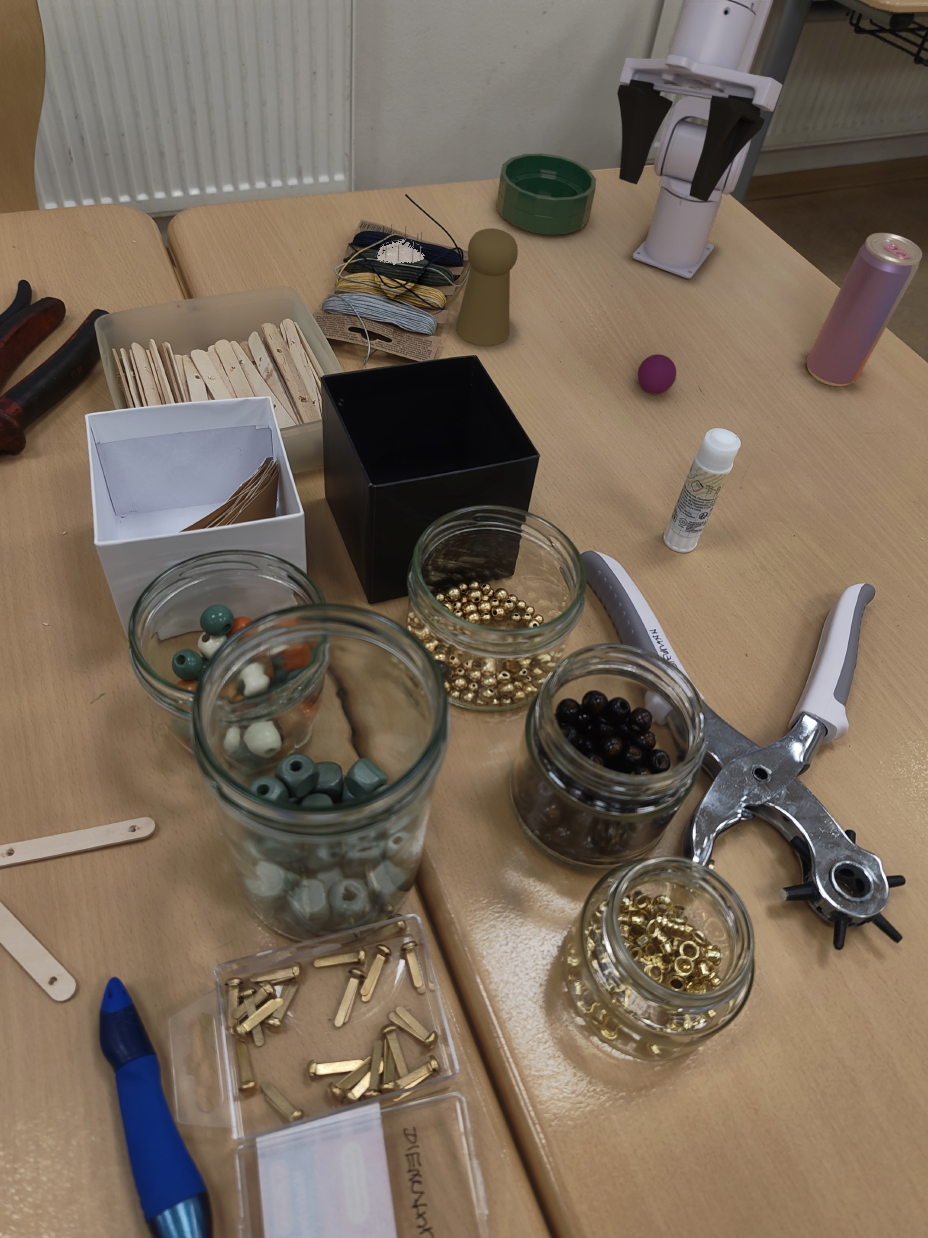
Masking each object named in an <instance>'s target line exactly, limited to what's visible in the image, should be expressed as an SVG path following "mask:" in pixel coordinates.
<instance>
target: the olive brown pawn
mask: <svg viewBox="0 0 928 1238" xmlns="http://www.w3.org/2000/svg"><path fill="white" fill-rule="evenodd" d="M468 242H469V243H468V245H467V259H468V261H469V263H470V269H469V272H468V277H467V281H466V284H465V288H464V293H463V297H462V300H461V304H460V309H459V311H458V316H457V320H456V323H455V324H456V325H455V330H456V332H457V335H458V336H459V337H460V338H461V339H462V340H464V341H466V342H467V343H469V344H472V345H475V346H480V347H481V346H483V347H490V346H491V347H493V346H497V345H499V344H503V343H504V342H506V340H508V338H509V336H510V296H511V295H510V290H511V289H510V288H511V286H510V285H511V270H512V269H513V267H514V266H515V265H516V262H517V260H518V256H519V255H518V254H519V251H518V244H517V241H516V239H515V238H514V237H513V235H511V234H510V233H508V232H507V231H505V230H503V229H499V228H492V227H491V228H484V229H480V230H478V231H476V232H475V233H474V234H473V236H471V238H470V239H469V241H468Z"/></svg>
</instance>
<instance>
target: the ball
mask: <svg viewBox="0 0 928 1238" xmlns="http://www.w3.org/2000/svg"><path fill="white" fill-rule="evenodd" d="M637 370H638V371H637V381H638V383H639V386H640V387H641V388H642V390H644V391H645V392H647V393H650V394H656V395H657V394H663V393H664V392H667V391H668V390H669V389H671V387H672V386H673V385H674V383H675V381H676V378H677V368H676V365H675V363H674V360H672V359H671V358H670V357H668V356H667V355H664V354H661V353H660V354H659V353H658V354H652V355H650V356H648V357H646V358H644V360H643V361H642V362H641V363H640V365H639V367H638V369H637Z"/></svg>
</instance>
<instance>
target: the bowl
mask: <svg viewBox="0 0 928 1238" xmlns="http://www.w3.org/2000/svg"><path fill="white" fill-rule="evenodd" d="M596 188H597V178H596V177H595V175H594V174H593V173H592V172H591V170H590V169H589V168H588V167H586V166H584V165H583V164H581V163H580V162H578V161H576V160H572V159H570V158H567V157H564V156H561V155H555V154H549V153H541V152H540V153H539V152H538V153H523V154H520V155H516V156H513V157H510V158H509V159H507V160H506V161H505V162H504V163H502V165H501V169H500V176H499V183H498V191H497V200H496V206H495V208H496V210H497V211H498V212H499V215H500V216H501V218H502V219H504V220H506V221H507V222H508V223H510V224H511V225H513V226H514V227H516V228H519V229H522V230H525V231H527V232H530V233H534V234H541V235H547V236H553V235H567V234H571V233H574V232H577V231H579V230H582V229H583V228H584V227H585V226H586V225H587V224H588V223H589V221H590V215H591V211H592V206H593V203H594V198H595V193H596Z"/></svg>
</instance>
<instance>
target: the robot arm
mask: <svg viewBox="0 0 928 1238" xmlns="http://www.w3.org/2000/svg"><path fill="white" fill-rule="evenodd" d="M773 3H774V0H686V1H685V4H684V7H683V10H682V13H681V17H680V20H679V24H678V26H677V30H676V33H675V36H674V39H673V43H672V46H671V49H670V52H669V54H667V57H666V58H634V57H625V59H624V64H623V67H622V70H621V74H620V77H619V81H618V82H619V83H620V84H619V86H618V88H617V98H618V105H619V111H620V120H621V121H620V122H621V152H620V153H621V154H620V165H619V174H618V176H619V177H618V179H619V180H621V181H624V182H627V183H630V184H633V185H638V183H639V181H640V179H641V177H642V174H643V172H644V169H645V166H646V164H647V160H648V158H649V153H650V151H651V148H652V145H653V142H654V140H655V138H656V136H657V133H658V132H659V130H660V127H661V126H662V124H663V122H664V120H665V118H666V117H667V115H668V113H669V112H670V110H671V112H670V115H669V117H668V121H667V122H666V125H665V127H664V129H663V132H662V134H661V137H660V141H659V142H658V143H659V144H658V147H657V150H656V154H655V157H654V163H653V170H654V173H655V176H657V177H660V179H659V184H658V186H659V187H660V188H659V192H658V196H657V200H656V203H655V208H654V210H653V214H652V217H651V221H650V226H649V229H648V232H647V236H646V239H645V240H644V241H642V243H641V244H640V245H639V246H638V248H637V249H636V250H635V251H634V252H633V253H632V256H631V257H632V259H634V260H636V261H639V262H642V263H644V264H647V265H649V266H651V267H655V268H658V269H661V270H663V271H667V272H669V273H671V274H674V275H677V276H679V277H682V278H685V279H692V278H693V277H694V275H695V274H696V273H697V272H698V270H699V269H700V268H701V266H702V265H703V263H704V262H705V261H706V259H707V258H708V257H709V255H711V253H712V252H713V250H714V247H715V246H714V244H713V243H711V242H709V239H710V236H711V233H712V230H713V227H714V224H715V222H716V218H717V215H718V212H719V209H720V207H721V203H722V198H723V195H725V196H728V195H730V194H731V193H732V192H734V191H735V189H736V187H737V184H738V181H739V179H740V175H741V173H742V170H743V167H744V165H745V162H746V159H747V155H748V153H749V150H750V146H751V141H752V138H754V137H755V135H757V134H758V133H759V132H760V131H761V130H762V128H763V126H764V124H765V121H766V120H765V118H764V117H762V116H761V115H762V112H761V110H762V111H767V112H771V113H772V112H774V110H775V107H776V105H777V102H778V100H779V96H780V94H781V91H782V88H783V84H782V83H780V82H779V81H777V80H776V79H774V78H773V77H770V76H769V77H768V76H763V75H757V74H753V73H750V71H751V67H752V64H753V62H754V58H755V57H756V56H755V55H756V53H757V50H758V47H759V44H760V41H761V38H762V35H763V32H764V29H765V26H766V24H767V20H768V17H769V14H770V11H771V9H772V5H773ZM683 85H685V86H683ZM686 86H687V87H686ZM693 87H694V88H693ZM661 93H667V94H674V95H680V96H684V97H682V98H681V99H679V100H678V101H677V102H676V104H674V106H673V103H674V101H672V100H671V99H669V98H667V97H665V96H663V95H661ZM672 106H673V107H672ZM688 119H697V120H698V119H699V120H702V121H705V122H707V125H704V124H701V123H696V122H693V121H690V120H688Z"/></svg>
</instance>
